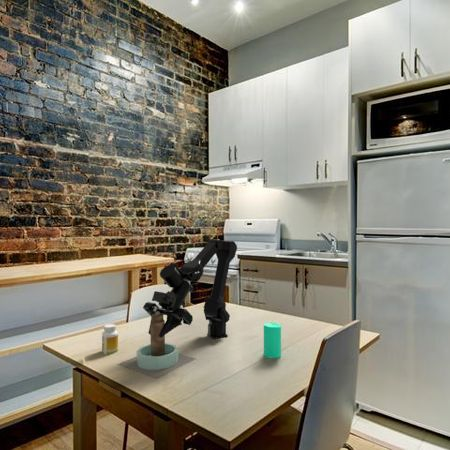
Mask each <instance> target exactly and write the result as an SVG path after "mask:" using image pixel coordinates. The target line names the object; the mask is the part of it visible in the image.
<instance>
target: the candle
mask: <svg viewBox="0 0 450 450" xmlns="http://www.w3.org/2000/svg"><path fill="white" fill-rule="evenodd" d="M263 356H264V357H265V358H268V359H269V358H270V359H278V358H281V356H282V325H281V324H279V323H277V322H274V320H271V322H267V323H265V324H263Z"/></svg>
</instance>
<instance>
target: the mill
mask: <svg viewBox="0 0 450 450" xmlns="http://www.w3.org/2000/svg"><path fill="white" fill-rule="evenodd" d="M149 322H150V324H149V328H150V330H151V335H150V344H151V356H163V355H165V343H166V335H164V336H163V337H162V338H161V337H159V334H160V332H161V330H162V328H163V326H164V324H165V322H166V320H165V319H164V315H163V314H161V313H160V312H159V311H157V312H155V314H152V320H151V319H150V321H149Z"/></svg>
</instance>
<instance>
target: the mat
mask: <svg viewBox="0 0 450 450" xmlns="http://www.w3.org/2000/svg"><path fill="white" fill-rule="evenodd" d="M196 359H197V358H196V357H192V356H188V355H185V354H181V353H179V352H178V361H177V363H176V364H175V365H173V366H171V367H169V368H165V369H160V370H146V369H143V368H141V367H139V366H138V365H137V355H136V356H134V357H132V358H129V359H126V360H124V361H122V362H120V363H117V366H121V367H124V368H127V369H129V370H132V371H135V372H136V373H137V372H138V373H140V374H144V375H146V376H149V377H151V378H154V379H160V378H161V377H163V376H165V375H167V374H169V373H171V372H173V371H175V370H177V369H179V368H181V367H183V366H184V365H187V364H189V363H191V362H193V361H195V360H196Z"/></svg>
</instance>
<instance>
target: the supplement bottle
mask: <svg viewBox="0 0 450 450" xmlns="http://www.w3.org/2000/svg"><path fill="white" fill-rule="evenodd" d="M116 328H117V325H116V324H112V323H110V324H109V323H108V324H105V325H104V326H103V330H104V331H103V332H102V334H101V353H102V354H103V355H113V354H114V355H115V353H118V352H119V332H118V331H117V330H116Z"/></svg>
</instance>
